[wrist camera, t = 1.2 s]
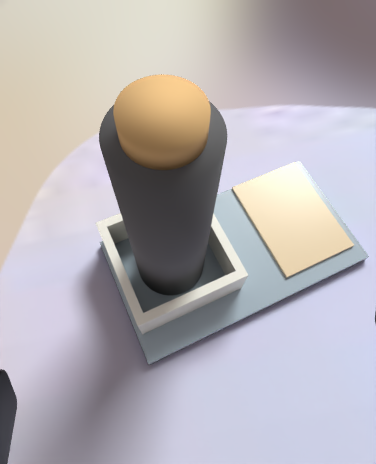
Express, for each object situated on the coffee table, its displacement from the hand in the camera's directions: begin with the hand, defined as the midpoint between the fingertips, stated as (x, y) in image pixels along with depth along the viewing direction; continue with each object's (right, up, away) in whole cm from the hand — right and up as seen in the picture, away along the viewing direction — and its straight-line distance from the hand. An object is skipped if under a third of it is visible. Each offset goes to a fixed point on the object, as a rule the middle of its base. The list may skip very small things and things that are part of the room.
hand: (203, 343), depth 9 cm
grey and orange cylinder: (-1, +1, +14) cm, 14 cm away
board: (+3, +1, +15) cm, 15 cm away
